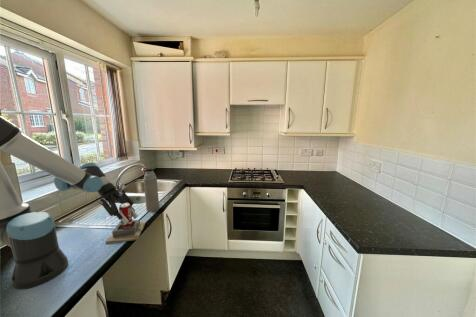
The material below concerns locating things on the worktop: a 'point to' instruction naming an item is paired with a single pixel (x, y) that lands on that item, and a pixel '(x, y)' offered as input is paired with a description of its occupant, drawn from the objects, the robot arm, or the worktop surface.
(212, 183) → the worktop surface
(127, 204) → the soda can
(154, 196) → the thermos bottle
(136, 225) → the square socket dock
